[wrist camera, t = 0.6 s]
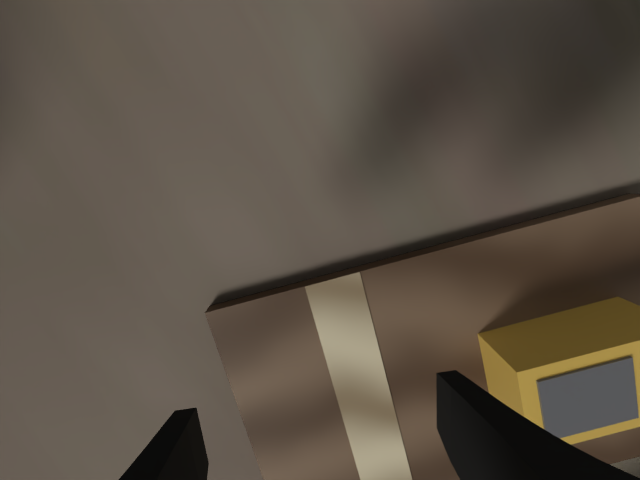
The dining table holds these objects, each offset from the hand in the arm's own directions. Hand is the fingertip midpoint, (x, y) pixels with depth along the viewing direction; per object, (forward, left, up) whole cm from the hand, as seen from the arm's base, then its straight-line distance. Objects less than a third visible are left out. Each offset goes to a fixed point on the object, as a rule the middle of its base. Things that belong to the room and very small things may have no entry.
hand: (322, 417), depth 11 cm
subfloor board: (-7, -6, -10) cm, 14 cm away
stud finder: (-6, -12, -9) cm, 17 cm away
